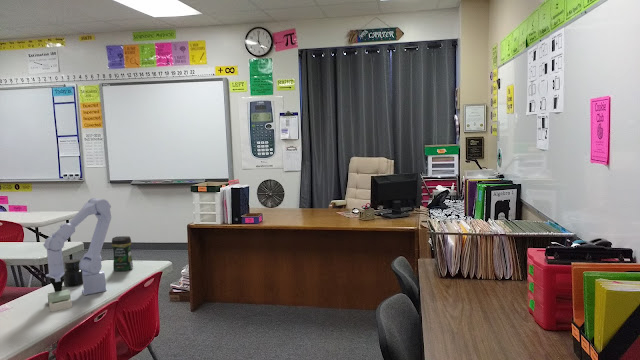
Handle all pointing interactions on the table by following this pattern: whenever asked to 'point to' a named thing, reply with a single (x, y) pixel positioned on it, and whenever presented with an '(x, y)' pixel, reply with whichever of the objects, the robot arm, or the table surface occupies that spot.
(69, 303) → the dish
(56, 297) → the lid
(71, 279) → the ink bottle
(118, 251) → the coffee jar
